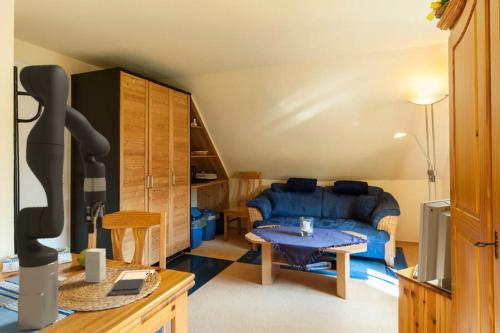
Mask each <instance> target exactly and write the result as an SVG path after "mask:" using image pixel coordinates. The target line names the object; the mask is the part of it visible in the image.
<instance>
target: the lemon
mask: <svg viewBox="0 0 500 333" xmlns="http://www.w3.org/2000/svg"><path fill="white" fill-rule="evenodd" d="M90 249H97V248H95V247H87V248H85V249H83V250H81V252H80V253H79V254H78V255H77V258H76V262H77V263H78V265H80V266H82V267H85V251H87V250H90Z"/></svg>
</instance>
